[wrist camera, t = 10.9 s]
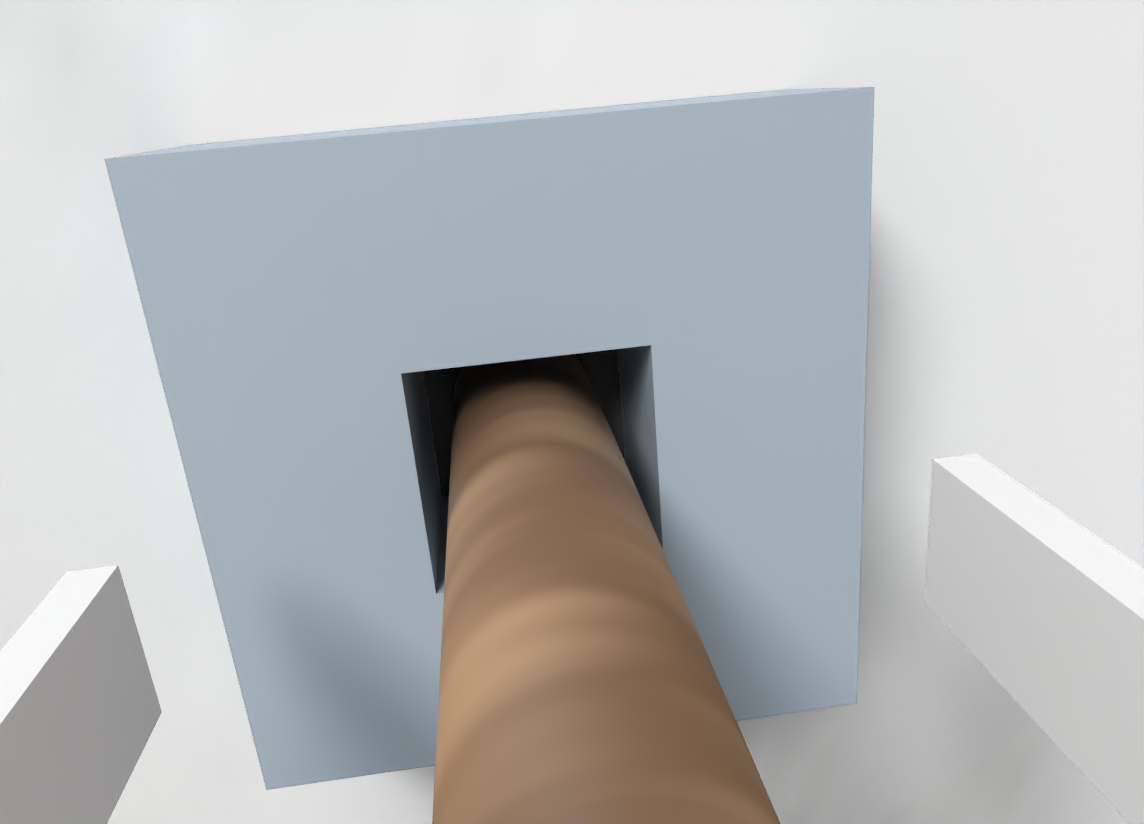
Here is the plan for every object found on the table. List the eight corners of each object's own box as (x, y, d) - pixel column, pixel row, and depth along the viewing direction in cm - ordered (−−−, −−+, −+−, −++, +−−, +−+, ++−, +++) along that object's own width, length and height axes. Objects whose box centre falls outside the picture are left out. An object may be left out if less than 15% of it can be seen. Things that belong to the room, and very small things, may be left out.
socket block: (304, 660, 25) (266, 789, 20) (188, 145, 20) (104, 158, 16) (786, 594, 26) (856, 703, 21) (784, 89, 21) (874, 86, 17)
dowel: (463, 470, 24) (453, 1117, 9) (445, 340, 22) (396, 830, 7) (596, 454, 24) (810, 1053, 9) (586, 324, 23) (813, 767, 8)
